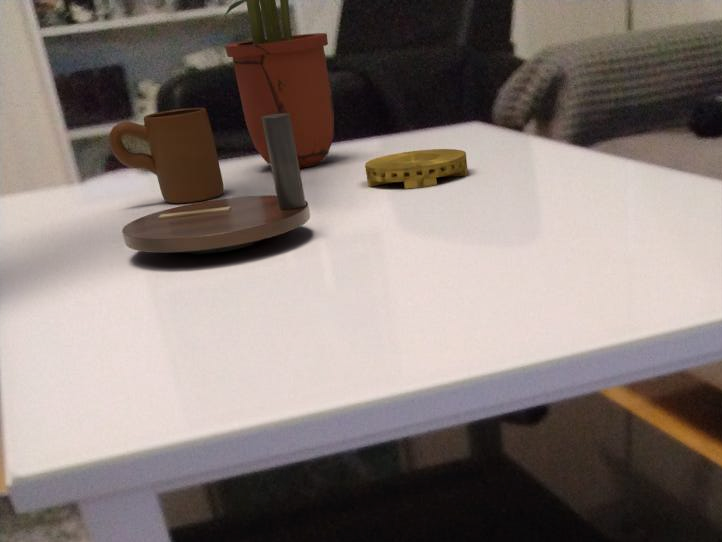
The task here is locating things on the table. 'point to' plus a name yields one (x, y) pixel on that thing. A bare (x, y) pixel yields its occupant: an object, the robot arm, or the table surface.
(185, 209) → the stand with round base
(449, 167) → the yellow flat disc
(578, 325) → the table surface
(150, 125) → the mug
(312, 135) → the potted plant
